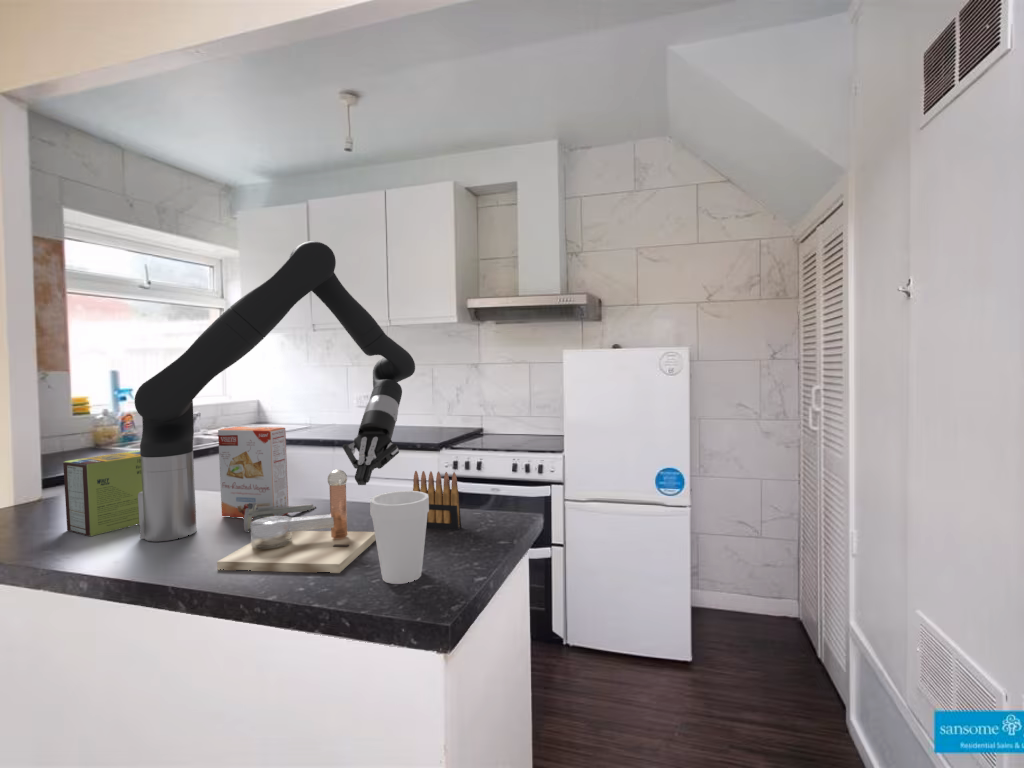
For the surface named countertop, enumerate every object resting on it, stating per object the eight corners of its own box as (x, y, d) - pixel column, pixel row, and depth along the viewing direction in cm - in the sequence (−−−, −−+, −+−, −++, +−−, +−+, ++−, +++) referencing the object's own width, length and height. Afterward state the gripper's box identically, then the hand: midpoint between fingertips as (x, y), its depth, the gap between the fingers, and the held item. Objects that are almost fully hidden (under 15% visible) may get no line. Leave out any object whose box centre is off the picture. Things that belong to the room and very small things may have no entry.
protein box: (166, 517, 125) (163, 452, 124) (89, 537, 111) (85, 464, 110) (141, 512, 130) (138, 449, 129) (65, 531, 116) (61, 460, 115)
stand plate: (217, 570, 91) (217, 560, 91) (272, 537, 108) (272, 529, 108) (339, 573, 89) (339, 563, 89) (376, 539, 106) (376, 530, 106)
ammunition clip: (411, 526, 113) (409, 471, 113) (415, 524, 115) (413, 469, 115) (458, 530, 111) (456, 473, 110) (461, 527, 112) (459, 471, 112)
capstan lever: (247, 550, 95) (244, 479, 94) (255, 538, 101) (252, 472, 101) (348, 540, 99) (346, 472, 99) (349, 529, 106) (347, 465, 106)
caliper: (248, 534, 111) (246, 504, 111) (244, 533, 112) (243, 504, 112) (316, 508, 130) (316, 483, 130) (313, 508, 131) (312, 483, 131)
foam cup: (432, 584, 83) (429, 502, 83) (371, 591, 81) (368, 507, 81) (428, 562, 93) (426, 489, 92) (374, 568, 91) (371, 492, 90)
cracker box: (220, 518, 123) (216, 429, 122) (238, 511, 128) (235, 425, 128) (273, 521, 119) (269, 429, 119) (289, 514, 125) (286, 426, 125)
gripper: (347, 409, 121) (324, 473, 109) (403, 408, 120) (386, 473, 108) (357, 429, 126) (336, 492, 115) (411, 428, 125) (395, 492, 113)
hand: (360, 483), depth 111 cm, fingers closed
